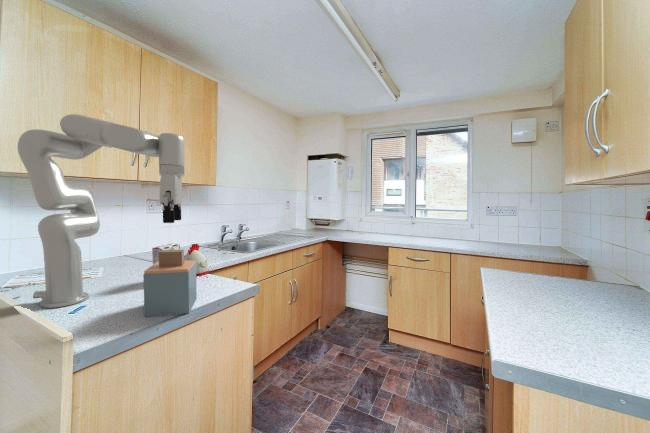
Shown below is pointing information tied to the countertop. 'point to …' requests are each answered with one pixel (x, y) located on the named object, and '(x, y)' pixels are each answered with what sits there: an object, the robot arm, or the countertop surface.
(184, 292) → the box
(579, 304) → the countertop surface
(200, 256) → the kitchen timer
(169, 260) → the lid
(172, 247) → the candy bar box
